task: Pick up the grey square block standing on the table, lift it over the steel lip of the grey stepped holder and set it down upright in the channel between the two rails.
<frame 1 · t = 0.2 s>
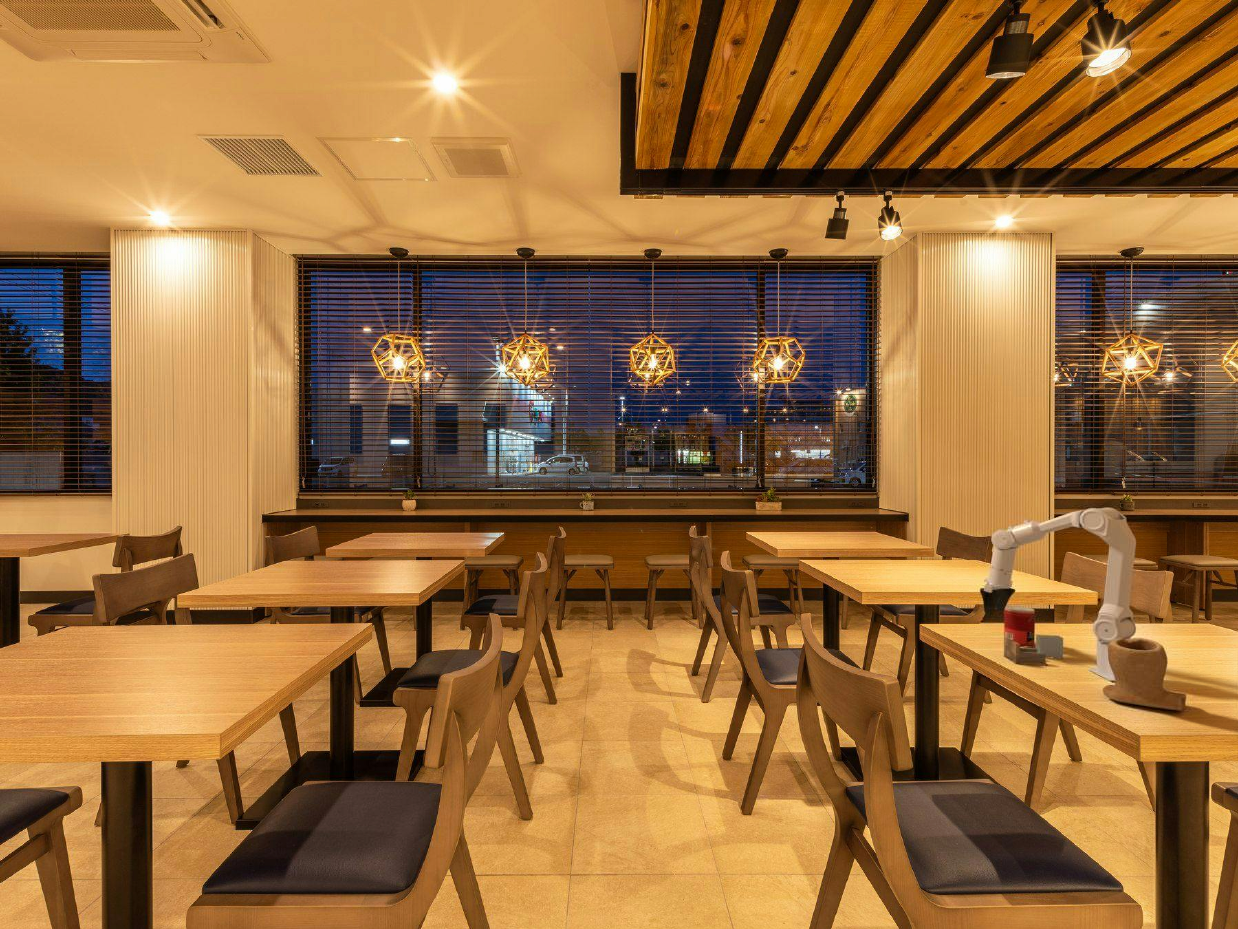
hand: (994, 611, 186), 10 cm above the table, tool pointing down, fingers open, 7 cm apart
grey stepped holder: (1025, 660, 172), on the table
canned food: (1019, 644, 189), on the table
grey square block: (1049, 657, 176), on the table
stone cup: (1144, 706, 140), on the table
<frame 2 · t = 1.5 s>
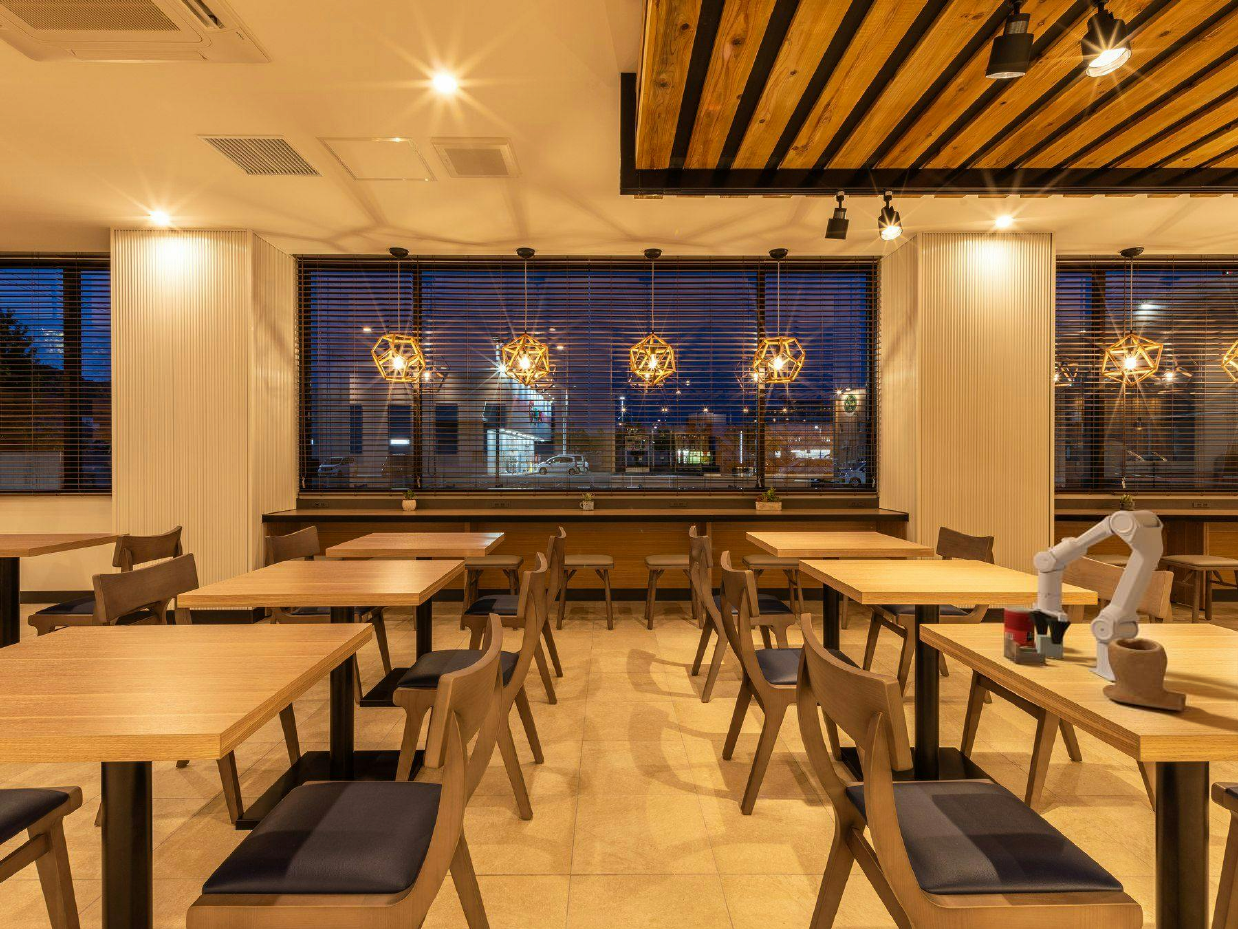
hand: (1049, 640, 176), 5 cm above the table, tool pointing down, fingers open, 7 cm apart
nothing on the table moved.
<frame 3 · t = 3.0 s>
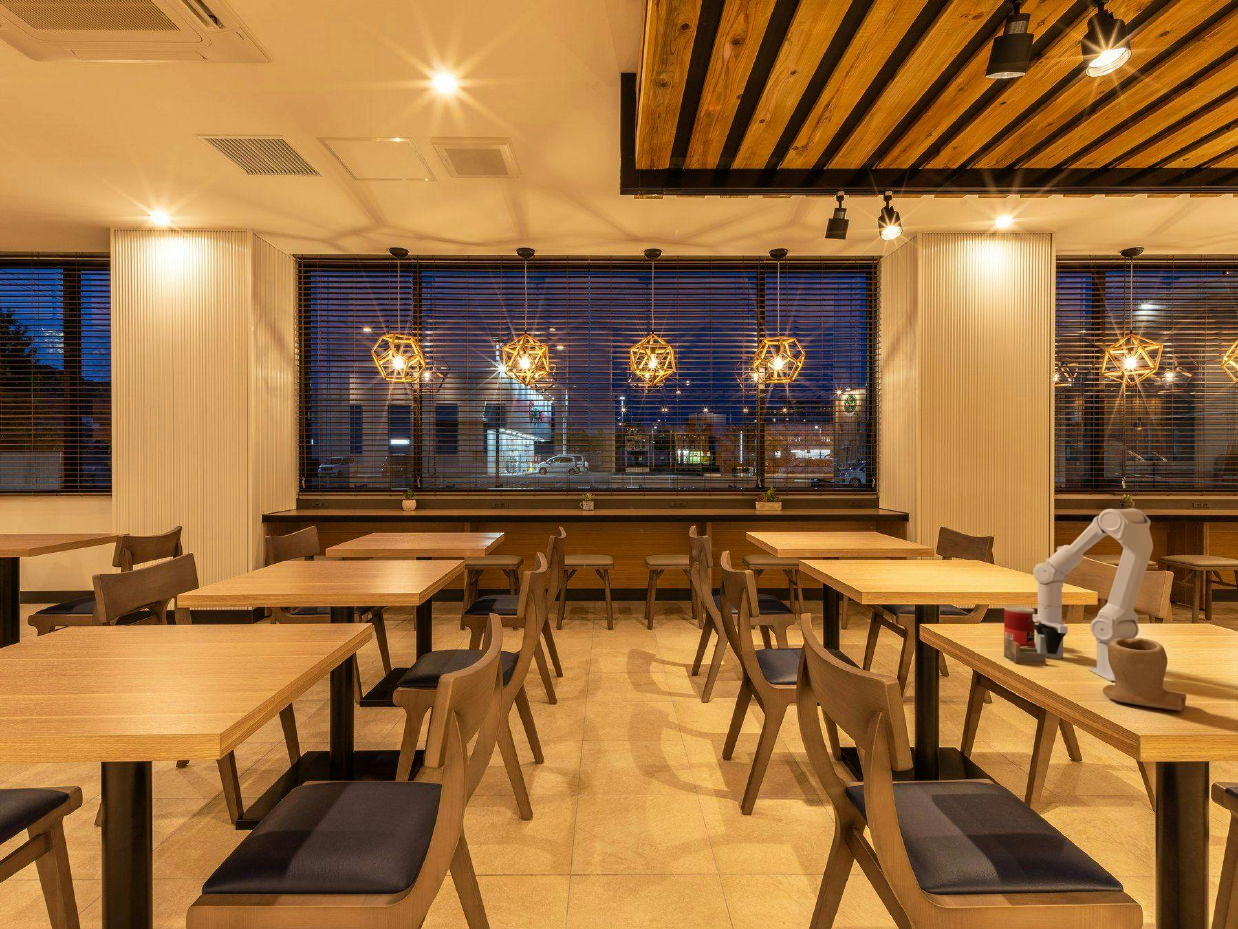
hand: (1049, 651, 176), 1 cm above the table, tool pointing down, fingers closed on grey square block, 2 cm apart
grey square block: (1049, 656, 176), on the table, touching gripper
everything else where it was.
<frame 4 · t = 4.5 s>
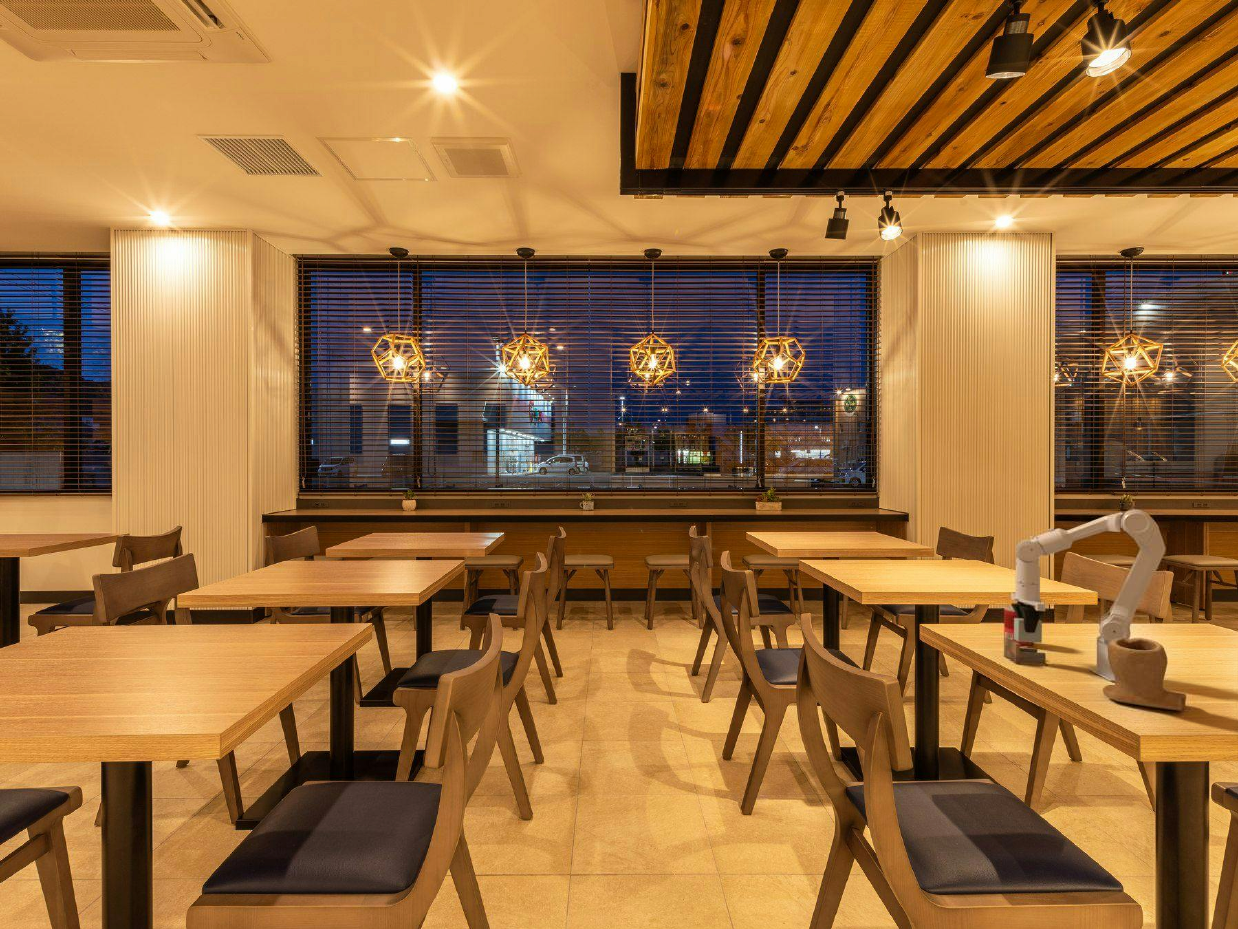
hand: (1027, 631, 172), 8 cm above the table, tool pointing down, fingers closed on grey square block, 2 cm apart
grey square block: (1027, 641, 172), point 6 cm above the table, touching gripper
everything else where it was.
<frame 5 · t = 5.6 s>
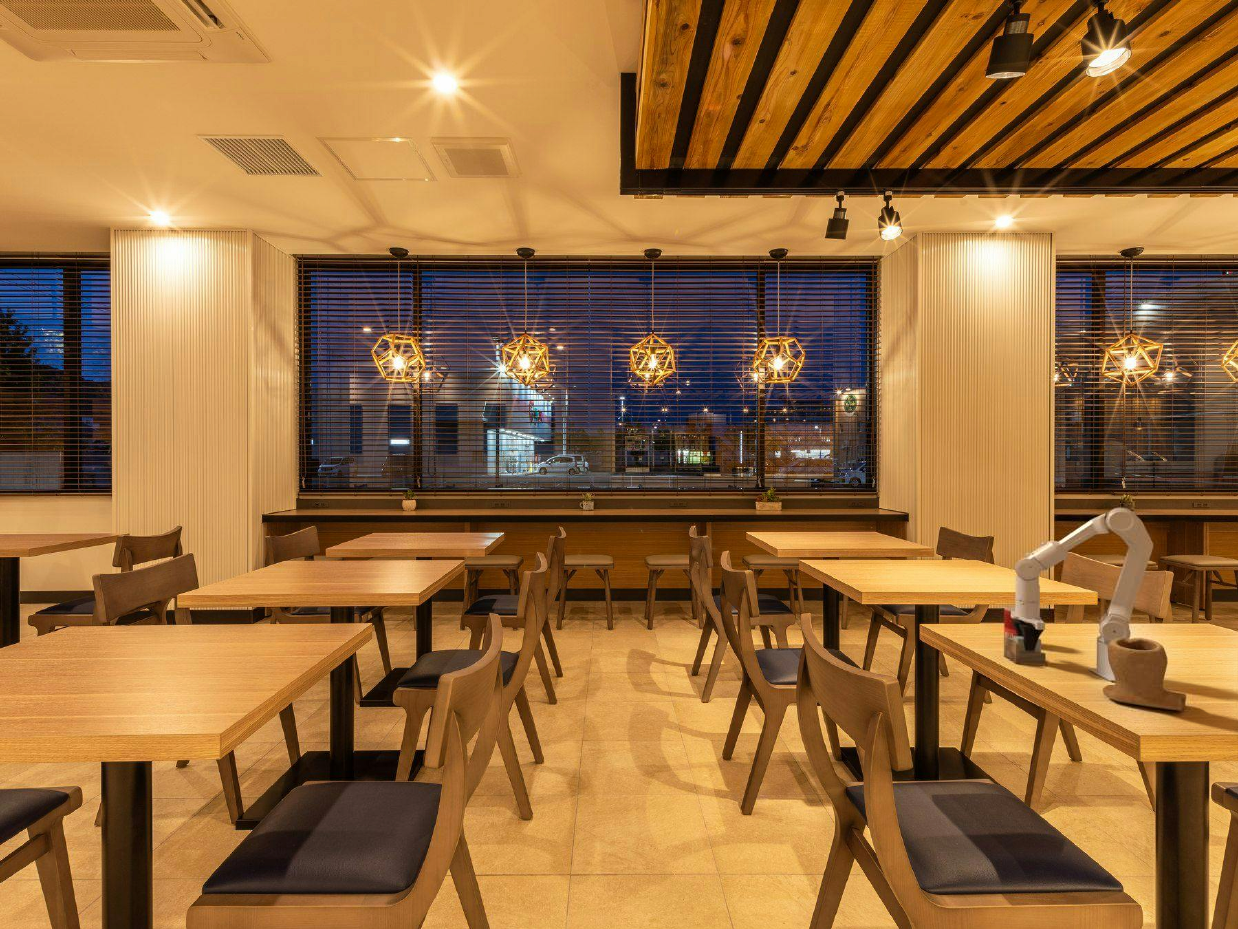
hand: (1027, 648, 172), 3 cm above the table, tool pointing down, fingers closed on grey square block, 2 cm apart
grey square block: (1027, 659, 172), resting on grey stepped holder, touching gripper
everything else where it was.
when the fingers open (3 cm above the table, at t = 6.0 s): grey square block stays where it is, resting on grey stepped holder.
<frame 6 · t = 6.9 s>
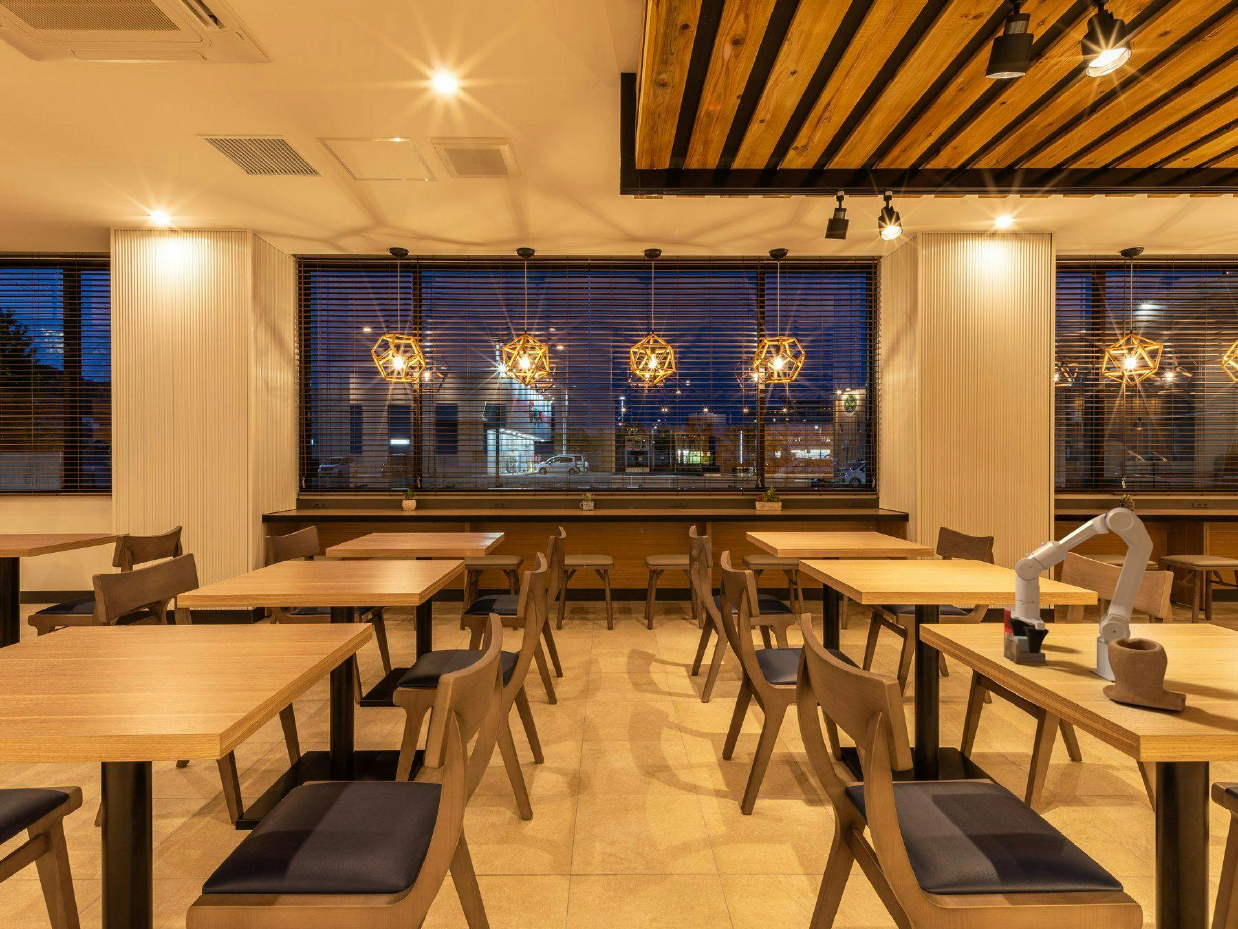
hand: (1027, 648, 172), 3 cm above the table, tool pointing down, fingers open, 7 cm apart
grey square block: (1027, 659, 172), resting on grey stepped holder
everything else where it was.
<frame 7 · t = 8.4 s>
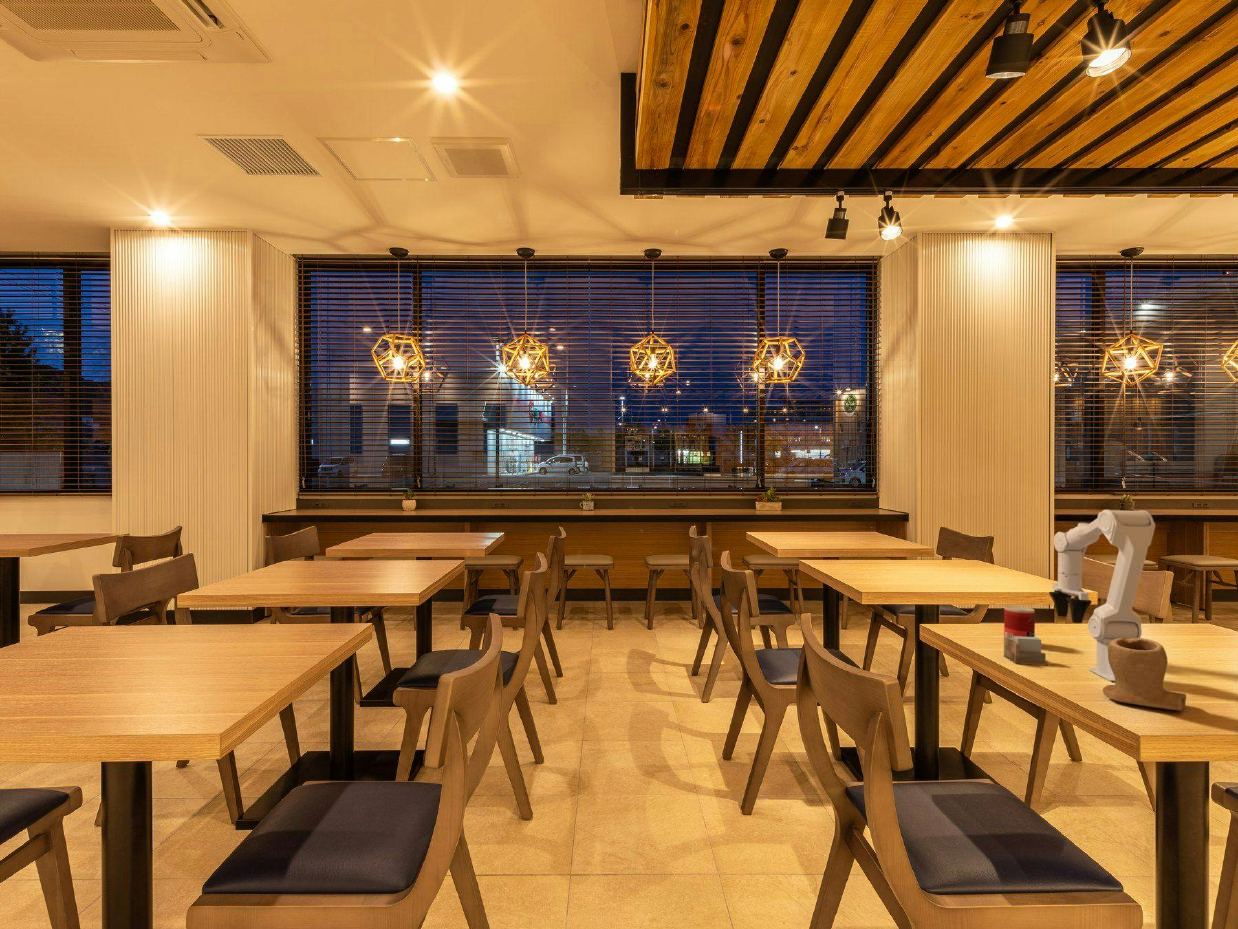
hand: (1069, 619, 180), 10 cm above the table, tool pointing down, fingers open, 7 cm apart
nothing on the table moved.
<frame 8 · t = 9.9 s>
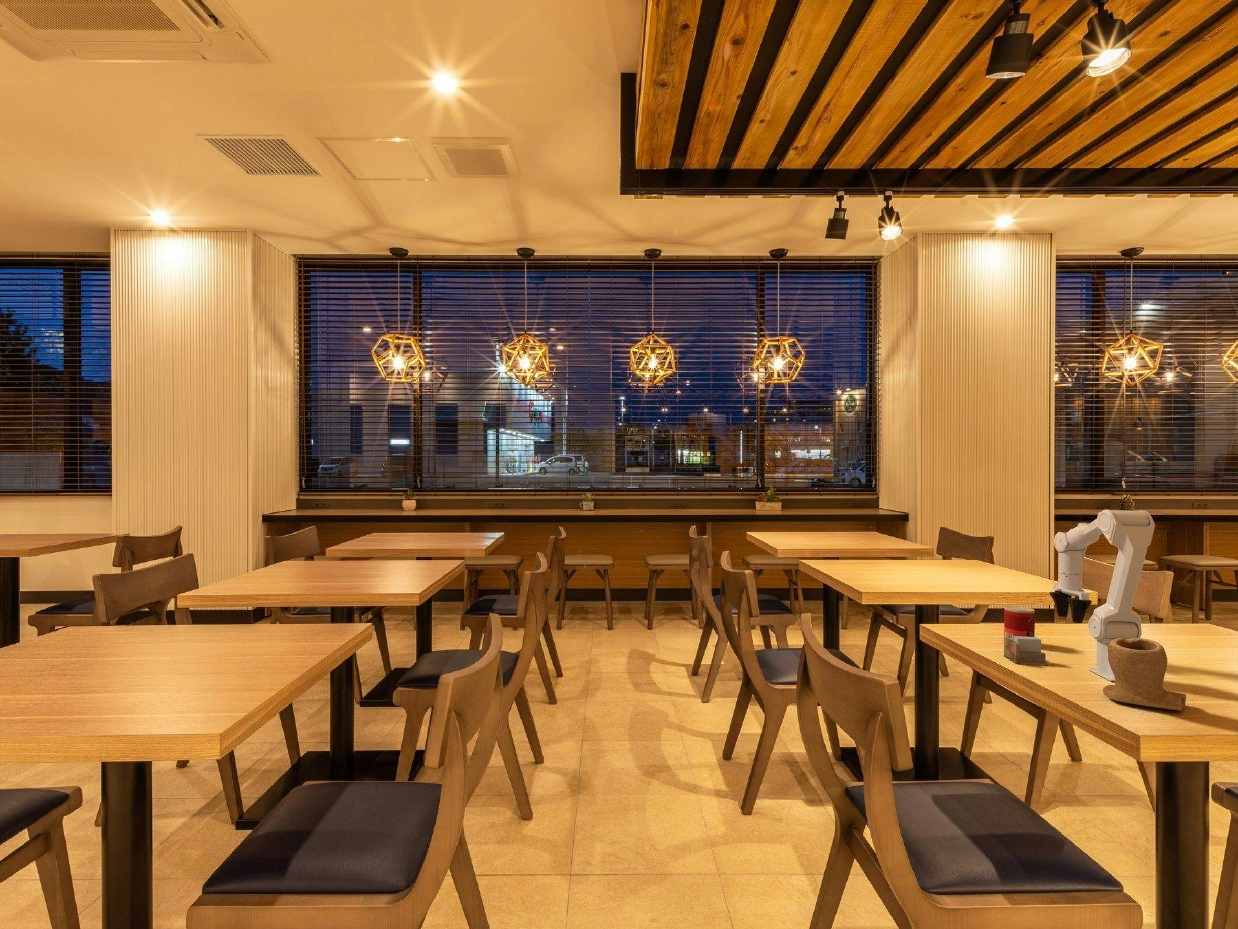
hand: (1069, 619, 180), 10 cm above the table, tool pointing down, fingers open, 7 cm apart
nothing on the table moved.
at the end: grey square block 0.0 cm off-centre on the grey stepped holder, point 0.5 cm above the grey stepped holder's base; grey square block tilted 0°; the gripper is holding nothing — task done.
